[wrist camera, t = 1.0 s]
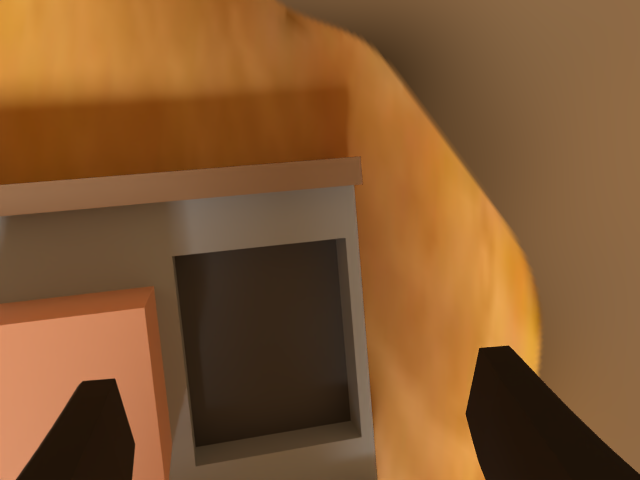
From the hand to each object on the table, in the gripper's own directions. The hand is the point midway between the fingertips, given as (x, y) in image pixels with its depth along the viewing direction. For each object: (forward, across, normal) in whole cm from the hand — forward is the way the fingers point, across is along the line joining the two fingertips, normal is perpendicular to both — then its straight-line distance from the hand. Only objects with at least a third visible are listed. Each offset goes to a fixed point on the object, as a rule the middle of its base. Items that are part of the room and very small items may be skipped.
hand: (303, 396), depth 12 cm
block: (+7, +7, +7) cm, 12 cm away
